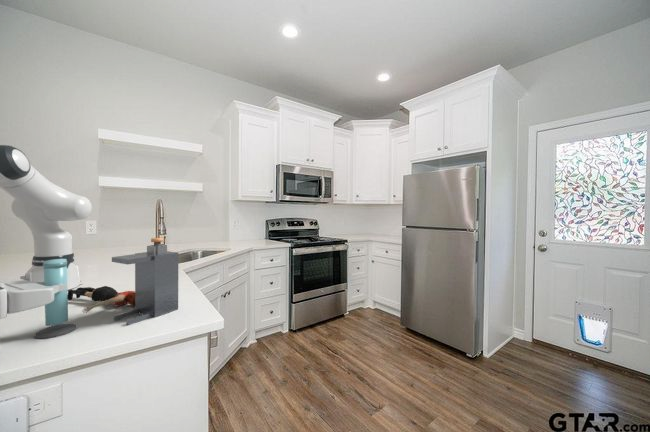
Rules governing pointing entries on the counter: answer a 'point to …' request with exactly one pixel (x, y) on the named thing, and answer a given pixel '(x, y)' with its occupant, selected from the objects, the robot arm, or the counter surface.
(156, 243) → the plunger
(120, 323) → the counter surface
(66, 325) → the pad
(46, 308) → the cartridge
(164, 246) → the housing
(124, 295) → the figurine
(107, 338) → the counter surface
